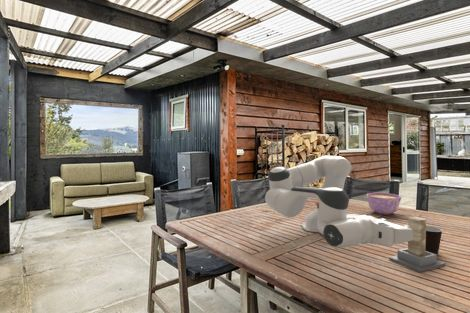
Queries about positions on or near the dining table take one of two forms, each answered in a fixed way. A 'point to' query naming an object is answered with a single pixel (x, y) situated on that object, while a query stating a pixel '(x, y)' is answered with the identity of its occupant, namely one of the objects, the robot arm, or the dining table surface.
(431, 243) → the coffee mug
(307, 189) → the robot arm
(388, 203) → the bowl of food
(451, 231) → the dining table surface
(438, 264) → the grey stepped tray
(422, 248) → the beige wooden block
